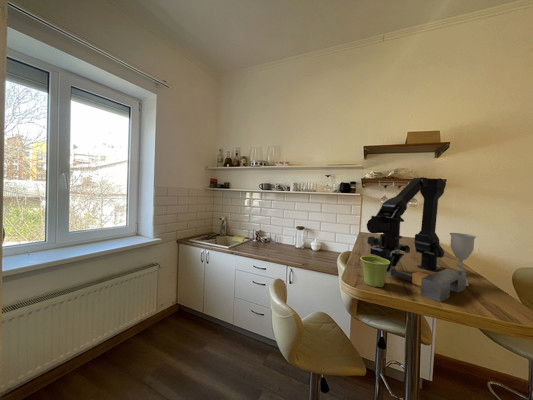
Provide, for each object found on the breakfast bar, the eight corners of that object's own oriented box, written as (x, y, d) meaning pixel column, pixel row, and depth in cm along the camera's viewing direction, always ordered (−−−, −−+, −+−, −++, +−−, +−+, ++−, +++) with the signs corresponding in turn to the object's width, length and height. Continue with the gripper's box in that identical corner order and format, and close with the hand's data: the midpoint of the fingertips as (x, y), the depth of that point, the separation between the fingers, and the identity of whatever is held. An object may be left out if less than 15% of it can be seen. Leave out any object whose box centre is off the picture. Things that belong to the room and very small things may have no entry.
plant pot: (354, 282, 74) (355, 258, 74) (366, 276, 80) (367, 254, 80) (381, 292, 67) (383, 265, 67) (393, 285, 73) (394, 260, 73)
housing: (447, 283, 76) (448, 268, 76) (465, 288, 72) (466, 273, 72) (420, 294, 66) (421, 277, 66) (439, 302, 62) (440, 283, 62)
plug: (382, 272, 85) (382, 264, 85) (388, 270, 87) (388, 262, 87) (428, 288, 71) (429, 278, 71) (434, 286, 73) (435, 276, 73)
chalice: (472, 283, 77) (475, 235, 77) (474, 288, 72) (477, 237, 72) (446, 277, 82) (449, 232, 82) (446, 282, 77) (449, 234, 76)
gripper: (384, 228, 96) (383, 261, 96) (359, 230, 86) (357, 267, 87) (411, 232, 86) (409, 269, 87) (385, 235, 77) (383, 277, 77)
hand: (389, 270), depth 85 cm, fingers closed on plug, 3 cm apart
